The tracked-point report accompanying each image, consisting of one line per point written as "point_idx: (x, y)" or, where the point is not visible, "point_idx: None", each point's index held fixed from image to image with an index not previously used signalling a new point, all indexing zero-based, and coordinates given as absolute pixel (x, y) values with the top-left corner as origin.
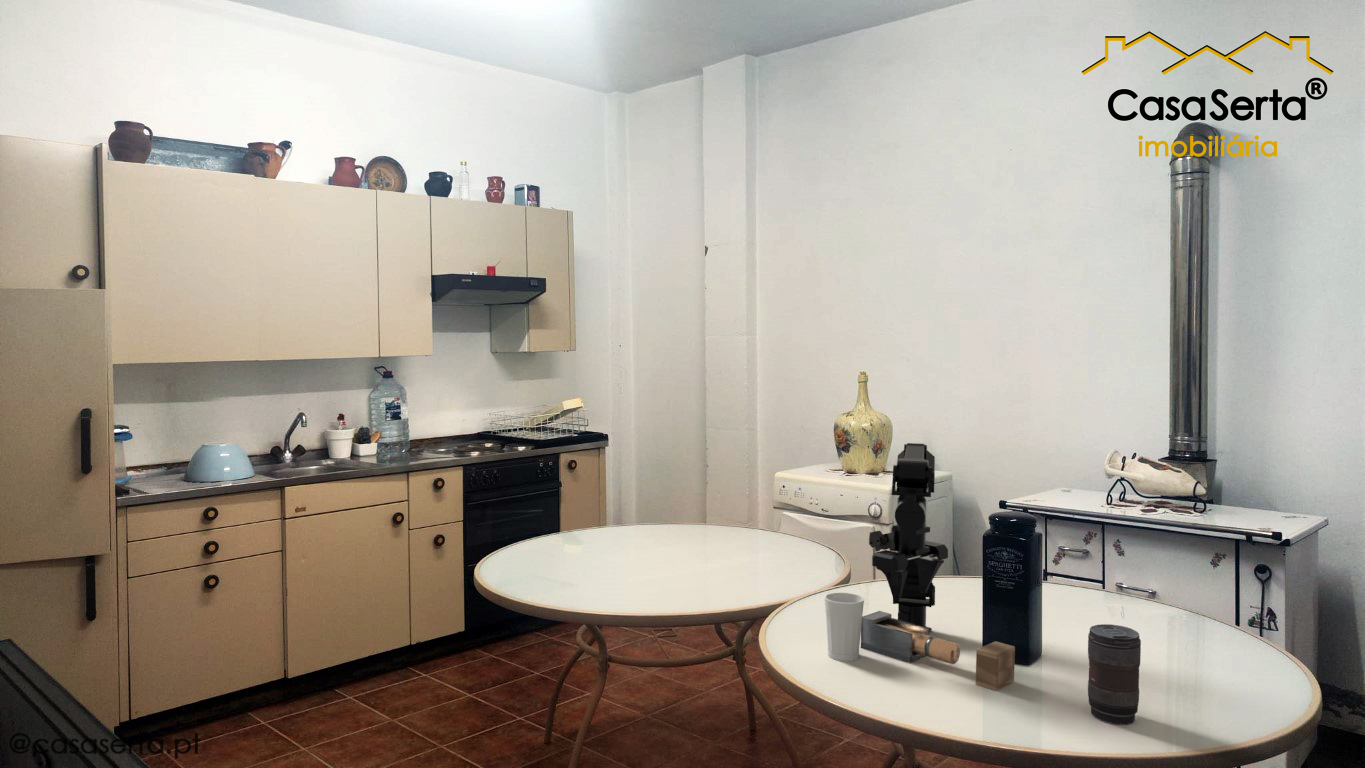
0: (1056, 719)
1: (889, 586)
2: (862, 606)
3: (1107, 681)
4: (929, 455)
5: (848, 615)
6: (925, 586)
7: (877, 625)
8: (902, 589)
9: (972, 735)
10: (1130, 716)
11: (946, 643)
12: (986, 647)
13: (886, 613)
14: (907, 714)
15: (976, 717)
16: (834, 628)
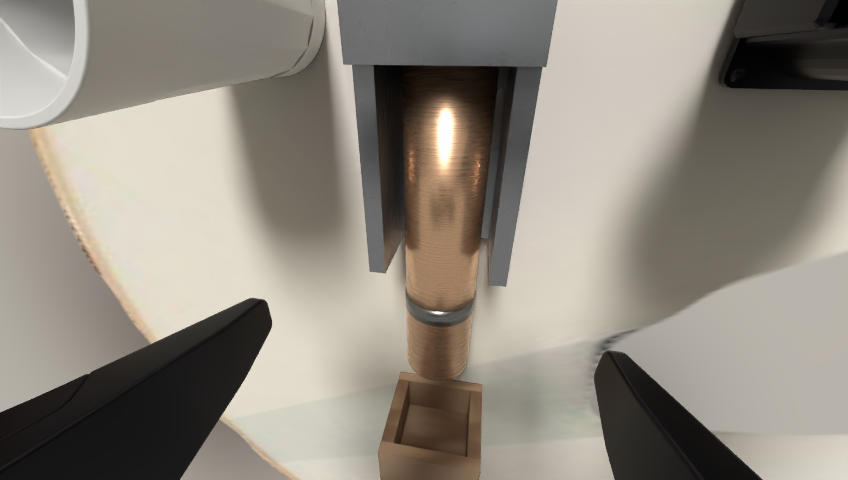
0: (372, 467)
1: (117, 360)
2: (96, 113)
3: None
4: None
5: (34, 75)
6: (610, 444)
7: (356, 97)
8: (201, 433)
9: (226, 409)
10: None
11: (422, 360)
12: (412, 464)
13: (533, 32)
14: None
15: (277, 402)
16: None
